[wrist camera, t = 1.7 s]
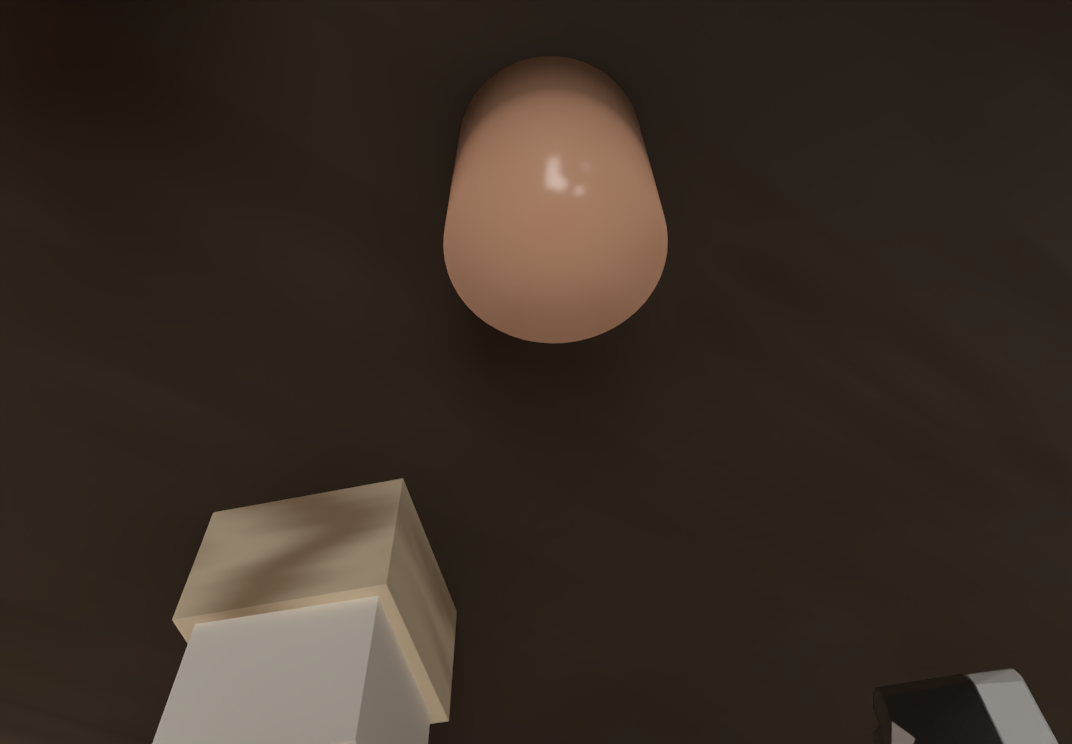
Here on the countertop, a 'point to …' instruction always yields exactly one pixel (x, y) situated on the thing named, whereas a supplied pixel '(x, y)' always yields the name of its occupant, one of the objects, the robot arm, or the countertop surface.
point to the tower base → (331, 571)
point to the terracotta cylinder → (553, 204)
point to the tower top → (296, 681)
